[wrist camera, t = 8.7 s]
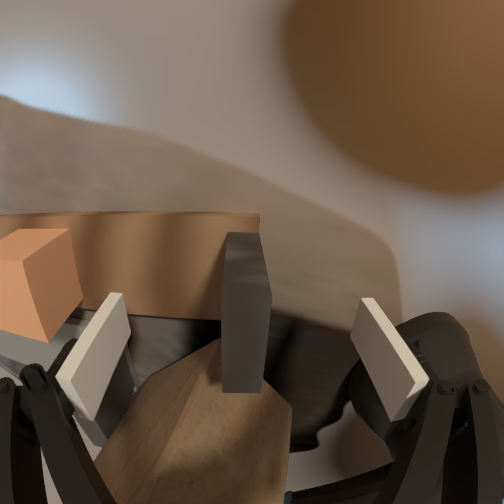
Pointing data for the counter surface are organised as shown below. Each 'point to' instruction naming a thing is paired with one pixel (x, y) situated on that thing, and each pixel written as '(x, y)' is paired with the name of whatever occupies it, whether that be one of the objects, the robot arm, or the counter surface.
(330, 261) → the counter surface
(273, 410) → the wooden block
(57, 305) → the terracotta cube
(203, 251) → the walnut strip
